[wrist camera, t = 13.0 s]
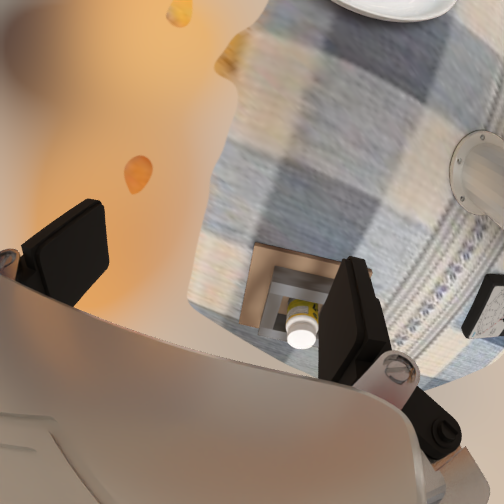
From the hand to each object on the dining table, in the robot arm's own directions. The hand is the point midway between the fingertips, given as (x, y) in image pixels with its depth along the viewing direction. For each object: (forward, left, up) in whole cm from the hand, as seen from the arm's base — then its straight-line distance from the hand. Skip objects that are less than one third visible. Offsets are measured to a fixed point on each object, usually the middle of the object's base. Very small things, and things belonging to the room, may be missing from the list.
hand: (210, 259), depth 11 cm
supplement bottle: (-9, +23, -28) cm, 37 cm away
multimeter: (-51, +15, -29) cm, 61 cm away
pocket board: (-9, +23, -28) cm, 38 cm away
